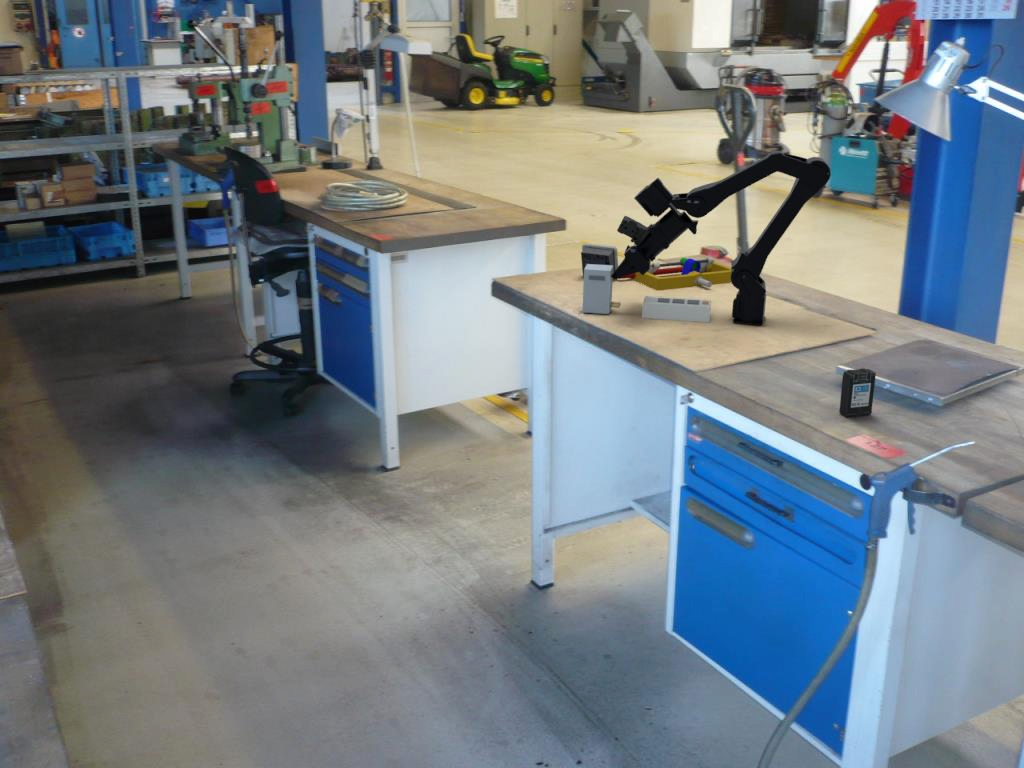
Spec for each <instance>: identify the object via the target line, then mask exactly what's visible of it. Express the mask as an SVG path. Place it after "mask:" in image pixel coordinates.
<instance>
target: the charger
mask: <svg viewBox="0 0 1024 768" xmlns="http://www.w3.org/2000/svg"><path fill="white" fill-rule="evenodd" d="M612 274H613V265H596V264H587V265H586V267H585V269H584V278H583V290H582V313H587V314H588V313H591V314H601V315H609V314H610V312H611V309H612V308H615V309H617V308H619V309H620V307H621V303H622V302H621V301H612V299H613V281H614V280H613V278H612Z"/></svg>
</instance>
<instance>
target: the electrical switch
mask: <svg viewBox="0 0 1024 768" xmlns="http://www.w3.org/2000/svg"><path fill="white" fill-rule="evenodd" d="M581 250H582V251H580V257H581V267H582V279H584V269H585V267H586V265H587V264H596V265H613V273H614V272H615V270H616V269H617V268H618V266H619V258H618V248H617V247H616V246H613V245H612V246H611V245H602V244H597V243H596V244H592V243H583V244H582V246H581ZM617 280H618V279H616V280H615V281H617Z"/></svg>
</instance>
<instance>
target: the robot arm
mask: <svg viewBox="0 0 1024 768" xmlns="http://www.w3.org/2000/svg"><path fill="white" fill-rule="evenodd" d="M777 172H778V173H781V174H784V175H787V176H790V177H793V178H795V180H794V182H793V184H792V187H791V190H790V192H789V193H788V195H787V196H786V198H785V200H784V201H783V202H782V203H781V205H780V206H779V207H778V209H777V211H776V212H775V214H774V215H773V216H772V218H771V219H770V221H769V222H768V223H767V225H766V227H765V228H764V230H763V231H762V232H761V234H760V235H759V236H758V238H757V240H756V241H755V242H754V244H753V245H752V246H751V247H749V248H748V249H747V250H746V249H744V248H743V247H741V248H740V250H739V252H738V254H737V256H736V257H735V258H734V259H733V260H732V261H731V265H730V266H731V282H732V283H731V284H732V286H733V287H734V288H735V289H737V290H738V291H737V292H736V295H735V296H736V297H735V298H733V301H732V311H731V318H732V319H733V320H732V323H734V324H742V325H754V326H763V325H764V324H765V323H764V322H765V321H766V316H765V313H766V303H767V293H766V292H767V289H766V281H765V279H763V278H762V276H761V273H762V272H763V270H764V266H765V264H766V262H767V259H768V257H769V255H771V253H772V251H773V250H774V248H775V247H776V245H777V244H778V243H779V242H780V240H781V238H782V237H783V235H784V234H785V233H786V231H787V230H788V228H789V227H790V226H791V225H792V223H793V222H794V220H795V218H796V217H797V216H798V214H799V213H800V211H802V209H803V208H804V206H805V204H806V203H807V202H808V201H809V200H811V199H812V198H814V197H815V195H817V194H818V193H819V191H821V190H822V189H823V188H824V186H826V184H828V182H829V180H830V178H831V176H832V174H831V169H830V167H829V165H828V163H827V161H825V159H823V158H821V157H819V156H812V157H809V158H806V157H802V156H800V155H799V156H797V155H795V154H794V155H793V154H789V153H785V152H782V151H781V150H773V151H770V152H769V154H768V155H766V156H764V157H762V158H759V160H756V161H755V162H753V163H751V164H748V165H747V166H745V167H743V168H741V169H740V170H737V171H736V172H734V173H732V174H730V175H728V176H726V177H724V178H723V179H720V180H718V181H714V182H710V183H706V184H703V185H701V186H697V187H695V188H692V189H691V190H689V192H684V193H683V192H682V193H672V192H671V191H670V190H669V189H668V188H667V187H666V186H665V185H664V183H663V181H662V180H661V179H660V178H659V177H657V178H655V179H654V180H653V181H651V182H650V183H649V184H648V185H645V187H643V188H642V189H641V190H640V191H639V192H637V194H636V195H635V196H634V199H633V200H635V201H636V202H637V203H638V204H639V205H640V207H642V208H643V210H644V211H645V212H646V213H647V215H648V216H649V217H653V216H654V217H657V218H659V217H660V216H662V215H663V214H664V213H665V212H666V211H667V210H668V209H669V210H668V212H666V213H665V214H664V215H663V216H662V217H661V218H659V220H657V221H656V222H655V223H650V224H649V225H647V226H646V225H644V224H642V223H641V222H639V221H637V220H635V219H634V218H632V217H629V216H627V215H624V216H623V218H622V220H621V222H620V224H619V225H618V228H617V230H616V231H617V232H618V233H620V234H621V235H625V236H627V237H629V238H630V242H631V243H633V245H631V246H630V245H629V244H628V245H627V246H626V248H625V251H624V252H623V256H624V258H623V259H622V261H621V262H620V263H619V264H618V268H617V269H616V270H615V272H614V273H613V274H612V278H613V279H617V280H619V279H618V278H621V277H624V276H627V275H630V274H633V273H637V272H640V274H642V275H644V274H645V273H646V272H647V271H648V270H649V269H650V265H651V264H652V263H651V262H654V260H656V258H657V257H658V255H660V254H661V253H662V252H664V251H665V250H667V249H668V248H669V247H670V245H671V244H673V243H674V241H676V240H677V239H678V238H679V237H680V236H681V235H682V234H684V233H685V232H686V231H687V230H689V231H690V232H691V233H692V235H696V234H697V231H698V229H697V227H698V224H699V220H698V219H701V218H703V217H706V216H707V215H708V214H709V213H711V212H712V211H713V210H715V209H716V208H717V207H718V206H719V205H721V204H722V203H723V202H724V201H725V200H726V199H728V198H729V197H732V196H733V195H735V194H737V193H738V192H741V191H742V190H744V189H746V188H747V187H750V186H751V185H753V184H755V183H758V182H759V181H762V180H763V179H765V178H766V177H769V176H771V175H773V174H775V173H777ZM680 211H682V212H680ZM690 216H691V217H690ZM692 218H695V219H697V220H694V219H692Z"/></svg>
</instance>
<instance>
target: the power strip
mask: <svg viewBox="0 0 1024 768" xmlns="http://www.w3.org/2000/svg"><path fill="white" fill-rule="evenodd" d="M711 307H712V299H701V298H700V299H699V298H688V297H687V298H685V297H683V298H682V297H669V296H668V297H667V296H654V295H652V296H651V295H645V296H644V298H643V302H642V308H641V309H642V310H641V311H642V312H641V319H649V318H653V319H652V320H665V321H666V320H667V321H682V322H694V321H697V322H696V323H710V322H711V321H710V317H711Z"/></svg>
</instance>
